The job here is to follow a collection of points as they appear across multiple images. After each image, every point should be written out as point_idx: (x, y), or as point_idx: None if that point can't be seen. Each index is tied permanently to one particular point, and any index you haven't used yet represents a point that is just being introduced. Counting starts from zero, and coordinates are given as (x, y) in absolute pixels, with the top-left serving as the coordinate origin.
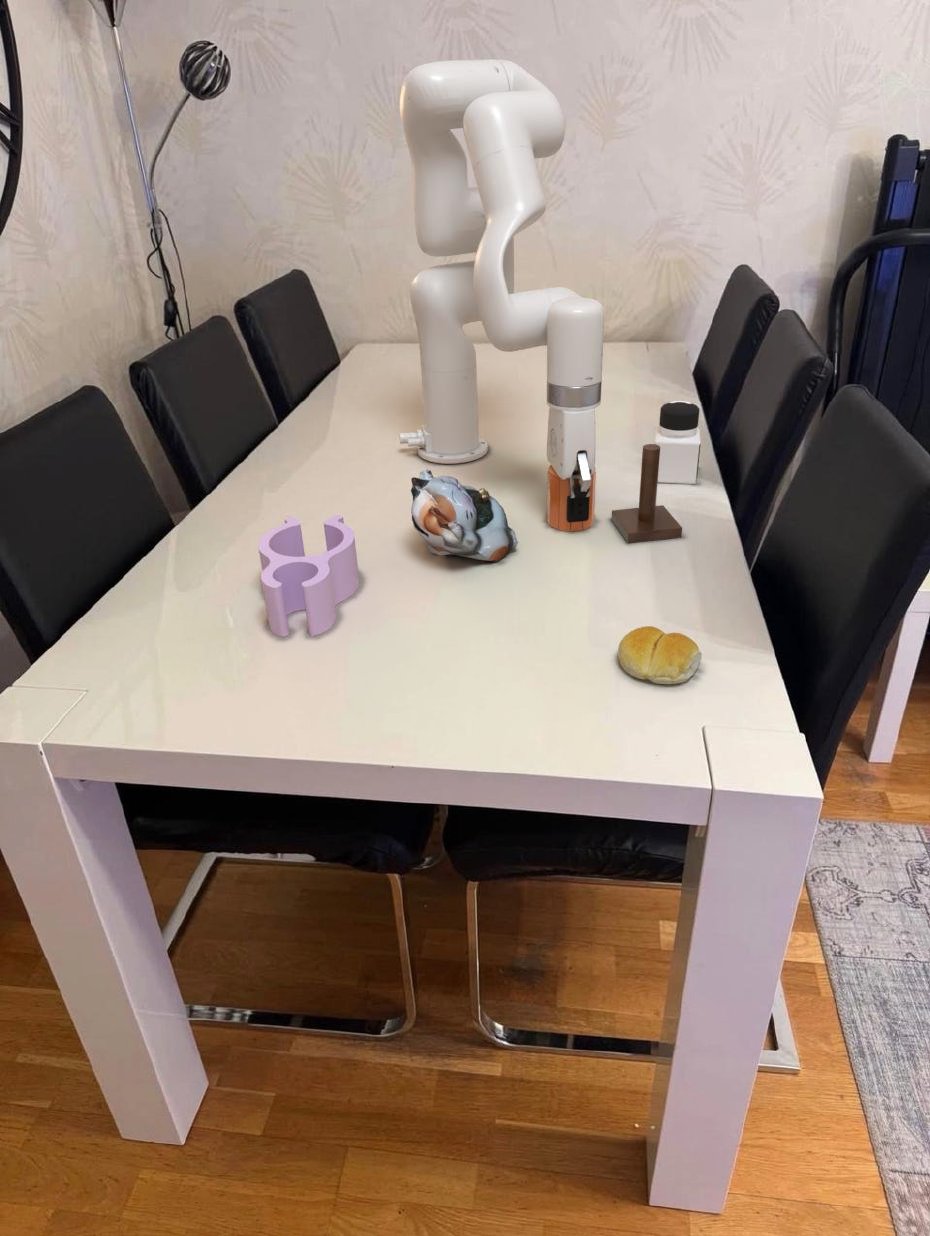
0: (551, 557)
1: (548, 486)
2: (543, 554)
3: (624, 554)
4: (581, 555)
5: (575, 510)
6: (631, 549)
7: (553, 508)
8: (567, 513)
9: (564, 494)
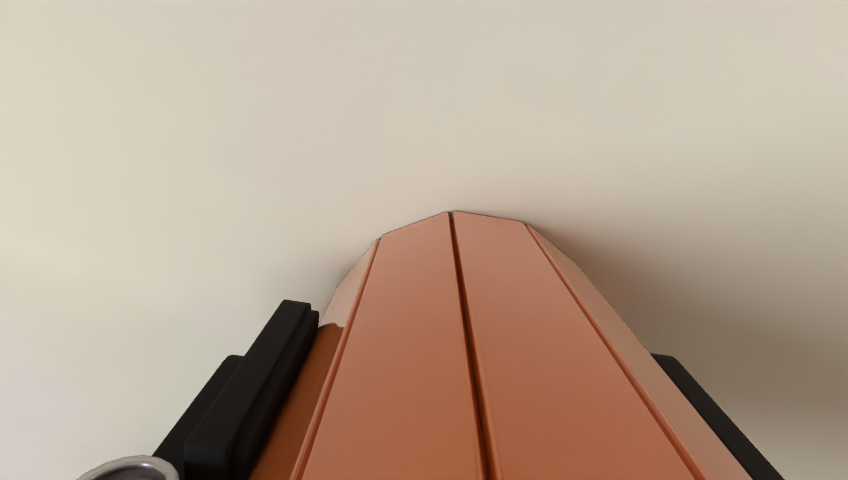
0: (17, 42)
1: (574, 374)
2: (67, 6)
3: (23, 411)
4: (30, 226)
5: (200, 396)
6: (72, 453)
7: (415, 273)
8: (263, 331)
9: (279, 442)
